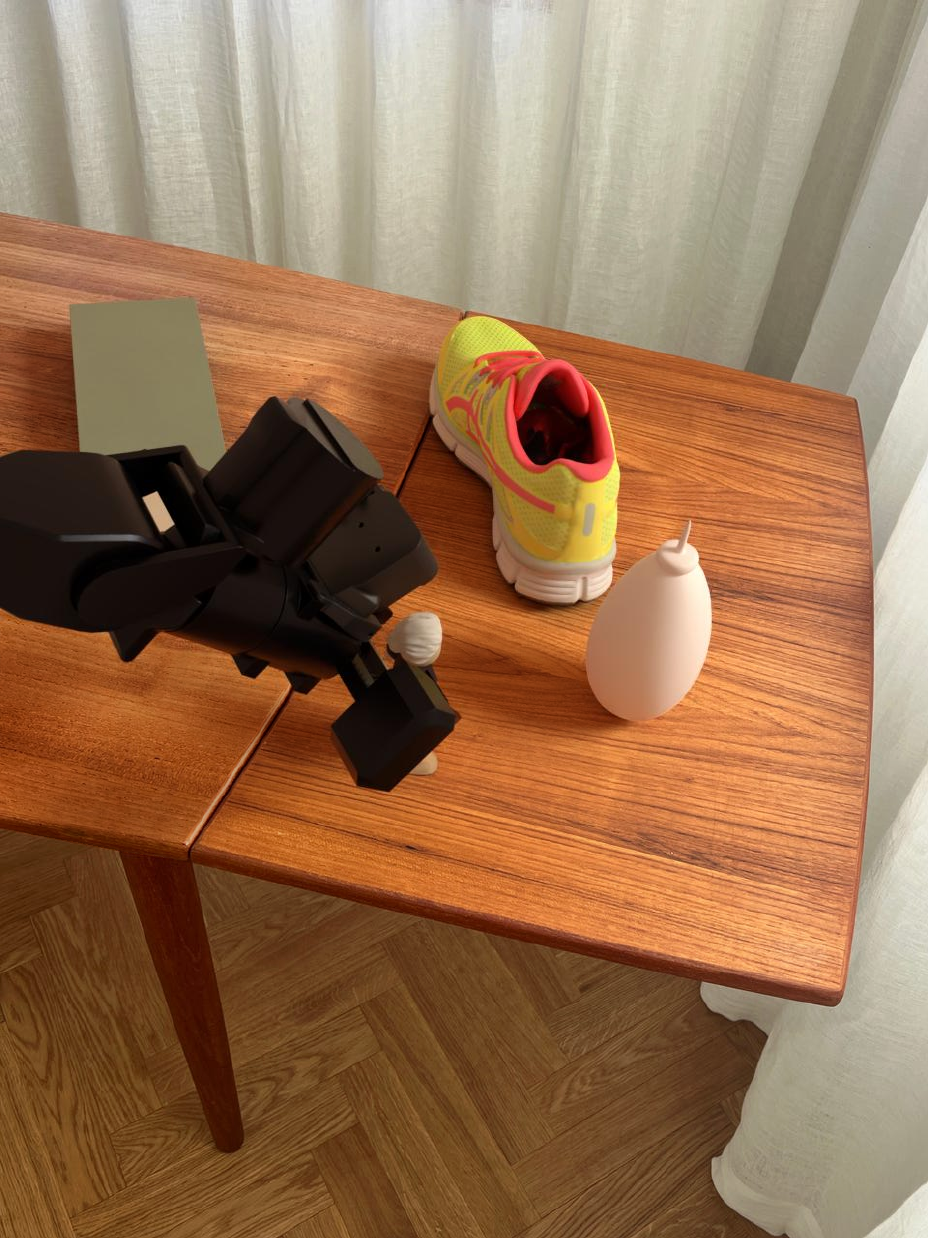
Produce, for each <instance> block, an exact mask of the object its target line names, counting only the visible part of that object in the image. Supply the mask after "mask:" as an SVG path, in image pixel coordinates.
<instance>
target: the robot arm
mask: <svg viewBox="0 0 928 1238" xmlns="http://www.w3.org/2000/svg"><path fill="white" fill-rule="evenodd" d="M384 478H385V473H384V470H383V468H382V466H381V464H380V462H379V461H378V460H377V458H376V457H375V456H374V454H373V453H372V452H371V451H370V450H369V448H368V447H367V446H366V445H365V443H364V442H362V440H361V439H360V438H358V436H357V435H356V434H355V433H354V432H352V431H351V429H349V428H348V426H347V425H346V424H344V423H343V422H342V421H340V420H339V418H337V416H335V415H334V414H332V413H331V412H330V411H328V410H327V409H326V408H325V407H323V406H322V405H320V404H318V402H316V401H314V400H313V399H311V398H309V397H306V398H305V399H303V398H300V397H297V396H291V397H289V398H288V400H286V401H285V400H284V399H281V398H280V397H278V396H276V395H272V396H269V397H268V398H267V399H266V401H264V403H262V405H261V406H260V408H258V410H257V411H256V412H255V413H254V415H253V416H252V417H251V420H250V422H249V423H248V425H247V427H246V428H245V430H244V431H243V432H242V433H241V434H240V436H239V437H238V438H237V439H236V440H235V441H234V442H233V443H232V444H231V446H230V447H229V448H228V449H227V450H226V453H225V454H224V455H223V456H222V457H221V459H220V460H219V461H218V462H217V463H216V464H215V466H214V467H213V468H212V469H211V470H210V471H208V470H206V469H204V468H202V467H200V466H198V464H197V463H196V461H195V459H194V457H193V456H192V454H191V452H190V451H189V449H188V448H187V447H186V446H185V445H177V446H170V447H162V448H155V449H143V450H139V451H133V452H125V453H118V454H110V455H103V454H99V453H91V452H80V451H71V450H70V451H68V450H41V449H40V450H39V449H19V450H15V451H12V452H9V453H6V454H3V455H0V610H2V611H4V612H6V613H8V614H10V615H12V616H13V617H15V618H17V619H19V620H23V621H27V622H33V623H36V624H41V625H46V626H51V627H56V628H59V629H64V630H69V631H74V632H79V633H87V634H97V633H98V634H100V633H108V634H109V637H110V639H111V642H112V643H113V646H114V648H115V651H116V653H117V656H118V657H119V659H120V661H121V662H123V663H124V664H125V663H131V662H133V661H135V660H136V659H137V657H139V655H140V654H141V653H143V651H144V650H145V649H146V647H148V646H149V645H150V643H151V642H152V641H153V640H154V638H155V637H157V635H159V634H161V633H163V634H166V635H170V636H173V637H176V638H179V639H182V640H185V641H189V642H191V643H194V644H198V645H201V646H203V647H207V648H209V649H213V650H216V651H220V652H221V653H226V654H229V655H230V656H231V658H232V660H233V662H234V664H235V666H236V667H237V670H238V671H239V673H240V675H241V676H243V677H246V678H249V679H253V680H256V679H257V678H258V677H259V676H260V675H261V674H262V672H264V670H265V669H266V668H268V667H269V668H272V669H275V670H278V671H282V672H283V674H284V675H285V677H286V679H287V681H288V682H289V685H290V686H291V688H292V689H293V692H295V693H299V694H302V695H306V696H307V695H308V694H309V693H310V692H311V691H313V689H314V688H315V687H316V686H317V685H318V684H319V683H320V682H321V681H322V680H325V681H328V680H331V679H333V678H335V677H337V676H338V675H339V677H340V678H341V680H342V683H343V684H344V685H345V687H346V689H347V690H348V692H349V694H350V695H351V697H352V699H353V702H352V703H351V704H350V705H349V706H348V707H347V708H346V709H345V710H344V711H343V713H341V714H340V716H338V717H337V719H336V720H334V722H333V723H331V724H330V741H331V743H332V745H333V747H334V749H335V751H336V752H337V754H338V755H339V758H340V759H341V761H342V763H343V765H344V766H345V768H346V770H347V772H348V773H349V775H350V777H351V779H352V781H353V783H354V785H355V786H356V787H357V788H362V789H366V790H372V791H376V792H383V793H391V791H393V790H394V789H395V788H396V787H397V786H398V785H399V784H400V783H401V782H402V781H403V780H404V779H405V778H406V777H407V776H408V775H410V774H409V773H410V772H411V771H412V770H413V769H414V768H415V767H416V766H417V765H418V764H419V763H420V762H421V761H422V760H423V759H424V758H425V757H426V756H428V755H429V754H430V753H431V752H433V751H434V750H436V748H437V747H438V746H440V744H441V743H442V742H443V741H444V740H445V739H447V737H449V735H451V733H453V731H455V726H456V725H457V724H458V723H459V722H460V721H461V720H462V715H461V714H460V712H459V711H457V710H456V709H454V708H453V707H451V705H450V702H449V699H448V698H447V697H446V695H445V693H444V692H443V690H442V689H441V687H440V685H439V684H438V682H437V683H436V681H435V680H434V678H433V677H432V675H431V674H430V672H429V671H428V670H426V671H425V672H423V671H422V670H421V669H420V668H419V667H416V666H414V665H411V664H409V663H405V664H402V665H399V666H397V667H394V668H393V667H391V668H389V666H388V665H387V663H386V662H385V659H384V658H383V657H382V655H381V654H380V652H379V650H378V649H377V647H376V646H375V644H374V642H373V641H372V638H374V636H375V635H376V634H377V633H378V632H379V631H380V630H381V629H382V628H383V626H382V625H385V624H386V623H387V622H388V621H389V620H390V619H391V618H392V617H393V615H394V612H393V610H392V609H391V608H390V606H392V605H394V604H395V603H397V602H398V601H400V600H401V599H402V598H404V597H405V596H407V595H408V594H410V593H411V592H413V591H415V590H416V589H417V588H419V587H423V586H426V585H427V584H429V583H430V582H431V581H433V580H434V579H435V578H436V576H437V575H438V573H439V571H440V570H439V569H440V564H439V561H438V559H437V557H436V555H435V553H434V552H433V550H432V548H431V546H430V545H429V543H428V542H427V540H426V538H425V536H424V535H423V533H422V531H421V529H420V528H419V526H418V525H417V524H416V522H415V521H414V520H413V518H412V516H410V514H409V513H408V511H407V510H406V509H405V507H404V506H403V504H402V503H401V502H400V500H399V499H398V498H397V497H398V496H396V494H394V492H391V491H389V490H387V487H385V486H384V485H383V484H379V483H380V482H381V481H382V480H383V479H384ZM155 492H158V494H159V496H160V498H161V500H162V502H163V504H164V506H165V507H166V509H167V511H168V513H169V515H170V517H171V519H172V521H173V522H174V525H173V526H171V527H170V528H168V529H167V530H166V531H161V532H160V530H159V528H158V526H157V524H156V523H155V521H154V519H153V517H152V515H151V513H150V511H149V509H148V507H147V505H146V503H145V501H144V499H143V497H145V496H147V495H150V494H152V493H155Z"/></svg>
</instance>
